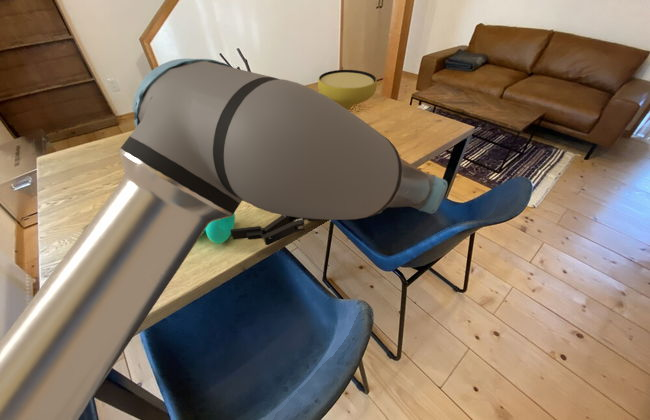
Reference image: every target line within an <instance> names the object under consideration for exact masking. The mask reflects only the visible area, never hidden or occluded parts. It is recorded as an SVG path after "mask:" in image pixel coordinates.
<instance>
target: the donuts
mask: <svg viewBox="0 0 650 420" xmlns="http://www.w3.org/2000/svg"><path fill="white" fill-rule="evenodd" d="M235 221H236V215H235V213H234V214H233V215H232V216H231V217H227V218H223V219H219V220H215V221H213V222H211V223H209V224H208V226H207V227H206V229H205V230H204V232H203V233H202V235H203V234H206V236H207V238H208V240H210V241H211V242H212V243H214V244H222V243H224V242H226V241H227V240H228V239H229V238H230V236H232V235H231V232H230V231H231V229H235V228H234V227H235Z"/></svg>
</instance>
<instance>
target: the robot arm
mask: <svg viewBox="0 0 650 420" xmlns="http://www.w3.org/2000/svg"><path fill="white" fill-rule="evenodd" d="M132 112H133V116H134V117H133V118H134V126H135V128H134V129H133V131H132V132H131V133H130V135H129V137H128V138H127V139H126V140H125V141H124V143H123V144H122V145H121V146H120V148H119V150H118V151H117V152H118V155H119V158H120V159H119V160H120V162H121V166H122V169H123V173H124V174H123V177H122V179H121V181H120V182H119V183H118V185H117V186H116V187H115V188H114V190H113V191H112V193H111V194H110V195H109V197H108V198H107V199H106V200H105V201H104V203H103V204H102V206H101V207H100V208H99V210H98V211H97V212H96V214H95V215H94V216H93V217H92V219H91V220H90V222H89V223H88V225H86V227H85V229H84V230H83V231H82V232H81V233H80V235H79V236H78V238H77V239H76V241H75V242H74V243H73V244H72V245H71V247H70V248H69V249H68V251H67V252H66V253H65V255H64V256H63V258H62V259H61V260H60V262H59V263H58V264H57V265H56V267H55V268H54V269H53V271H52V272H51V273H50V275H49V276H48V278H46V280H45V281H44V283H43V284H42V286H41V287H40V288H39V289H38V291H37V292H36V293H35V295H34V296H33V297H32V298H31V300H30V301H29V303H28V304H27V305H26V306H25V308H24V309H23V310H22V312H21V313H20V314H19V316H18V317H17V319H16V320H15V321H14V323H13V324H12V325H11V327H10V328H9V329H8V330H7V332H6V333H5V334H4V336H3V337H2V339H1V340H0V420H79V419H80V417H81V416H82V414H83V413H84V411H85V410H86V408H87V407H88V405H89V404H90V402H91V401H92V399H93V398H94V396H95V394H96V393H97V392H98V391H99V389H100V387H101V386H102V384H103V383H104V381H105V380H106V379H107V377H108V375H109V374H110V372H111V371H112V369H113V368H114V366H115V365H116V363H117V362H118V360H119V359H120V357H121V356H122V354H123V353H124V351H125V349H126V348H127V347H128V345H129V344H130V342H131V341H132V339H133V338H134V337H135V335H136V333H137V332H138V330H139V329H140V328H141V326H142V324H143V323H144V321H145V320H146V318H147V317H148V316H149V314H150V313H151V311H152V310H153V308H154V307H155V306H156V303H157V302H158V300H159V299H160V298H161V296H162V294H163V293H164V291H165V290H166V288H167V287H168V285H169V284H170V283H171V281H172V279H173V278H174V277H175V276H176V274H177V272H178V270H179V269H180V268H181V266H182V264H183V263H184V261H185V260H186V259H187V257H188V256H189V254H190V252H191V251H192V249H193V248H194V247H195V245H196V244H197V242H198V241H199V239H200V238H201V237H202V236H203V234H204V233H205V232H204V230H205V229H206V227H207V226H208V224H209V223H211V222H213V221H215V220H219V219H223V218H227V217H231V216H232V215H233V214H235V212H236V211H237V209H238V208H239V207H240V205H241V203H242V202H245V203H247V204H248V205H249V204H250V205H252V206H253V207H255V208H257V209H260V210H263V211H266V212H269V213H271V214H276V215H280V216H279V217H277V218H275V219H274V220H273V221H271V222H270V223H268V224H267V225H266V226H264V227H262V226H261V225H259V226H258V225H257V226H249V227H248V226H247V227H237V228H233V229H231V231H230V232H231V235H230V236H231V237H232V239H233V241H237V240H243V239H245V240H246V239H247V240H249V241H251V240H263V242H264V244H265V246H270V245H272V244H274V243H276V242H279V241H281V240H283V239H284V238H287V237H289V236H291V235H293V234H295V233H298V232H303V231H305V230H306V226H305V225H306V224H305V221H307V222H310V223H311V222H319V221H320V222H321V221H322V220H324V221H330V220H331V221H339V220H342V221H343V220H358V219H366V218H370V217H373V216H376V215H379V214H381V213H382V212H383V211H384V210H386V209H387V208H404V207H405V208H406V207H409V208H410V207H411V208H414V209H416V210H418V211H419V212H423V213H427V214H430V215H432V214H434V213H436V212H437V211H438V209H439V208H440V206H441V204H442V202H443V200H444V197H445V195H446V193H447V190H448V186H449V185H448V181H447V180H446V179H444V178H442V177H439V176H437V175H435V174H431V173H428V172H425V171H423V170H421V169H420V168H418V167H416V166H414V165H413V164H411V163H409V162H408V161H406V160H405V159H404V158H401V156H400V154H399V151H398V149H397V148H396V147H395V145H394V144H393V143H392V142H391V141H390V139H388V138H387V137H386V136H384V135H383V134H382V133H380V132H379V131H378V130H376V129H375V128H373V127H372V125H370V124H369V123H367V122H365V121H364V120H363V119H362V118H360V117H359V116H357V115H356V114H354V113H353V112H351V111H350V110H347V109H345V108H344V107H342V106H341V105H339V104H338V103H336V102H335V101H333V100H332V99H330V98H328V97H327V96H325V95H323V94H321V93H319V91H317V90H315V89H313V88H311V87H309V86H306V85H303V84H301V83H299V82H297V81H296V82H295V81H292V80H288V79H281V78H277V77H274V76H269V75H265V74H261V73H256V72H252V71H249V70H244V69H240V68H235V67H234V66H232V65H230V64H227V63H225V62H221V61H218V60H215V59H208V58H177V59H172V60H169V61H167V62H164V63H161V64H160V65H157V66H156V67H154V68H153V69H152V70H151V71H149V73H147V74H146V75H145V77H144V78H143V79H142V80H141V82H140V83H139V85H138V87H137V89H136V92H135V95H134V97H133V102H132ZM203 232H204V233H203ZM202 233H203V234H202Z"/></svg>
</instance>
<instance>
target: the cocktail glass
mask: <svg viewBox="0 0 650 420" xmlns="http://www.w3.org/2000/svg"><path fill="white" fill-rule="evenodd" d="M377 86H378V81H377V76H375V75H374V74H372V73H370V72H367V71H363V70H356V69H336V70H331V71H330V70H329V71H327V72H324V73H322V74H320V75H319V77H318V80H317V88H318V92H320V93H321V94H323V95H325V96H327V97H328V98H330V99H332V100H333V101H335V102H336V103H338V104H339V105H341V106H342V107H344V108H345V109H347V110H348V111H350V110H351V108H352V107H354V106H355V105H358V104H361V103H364V102H366V101H368V100H369V99H371V98H372V97H373V96H374V95H375V94H376V90H377Z"/></svg>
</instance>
